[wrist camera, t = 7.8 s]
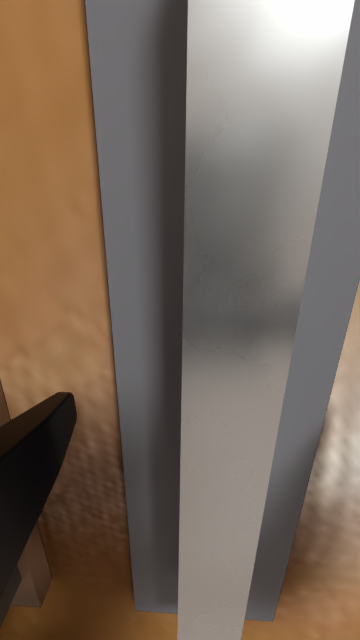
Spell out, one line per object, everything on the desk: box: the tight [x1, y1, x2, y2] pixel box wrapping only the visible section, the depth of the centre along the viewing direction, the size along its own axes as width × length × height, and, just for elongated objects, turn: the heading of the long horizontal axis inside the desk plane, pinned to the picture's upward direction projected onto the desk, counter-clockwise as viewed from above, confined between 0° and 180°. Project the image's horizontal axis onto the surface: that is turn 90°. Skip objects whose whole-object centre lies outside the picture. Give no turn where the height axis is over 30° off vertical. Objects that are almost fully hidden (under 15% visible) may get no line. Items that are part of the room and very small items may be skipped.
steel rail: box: [177, 0, 355, 640], centre depth 9 cm, size 22×2×2 cm, turn 179°
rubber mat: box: [85, 0, 360, 622], centre depth 10 cm, size 28×7×1 cm, turn 179°
